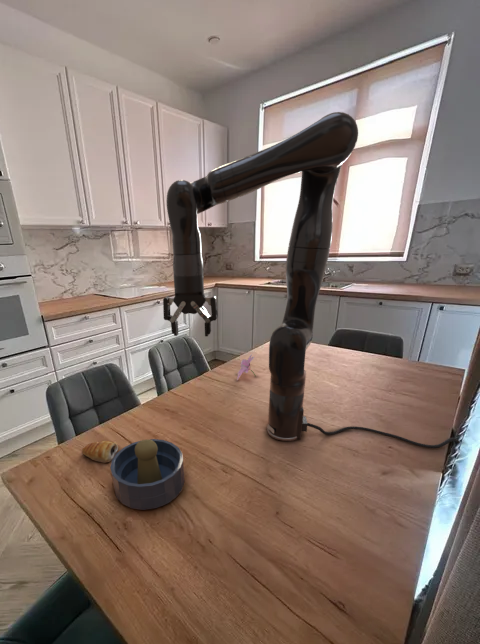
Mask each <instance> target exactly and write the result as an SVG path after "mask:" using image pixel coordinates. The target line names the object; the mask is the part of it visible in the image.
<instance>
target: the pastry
mask: <svg viewBox="0 0 480 644" xmlns="http://www.w3.org/2000/svg"><path fill="white" fill-rule="evenodd" d="M81 449H82V450H81V451H82V454H83V455H84V456H85V457H86V458H88V459H90V460H92V461H95V462H100V463H110V462H112V459H113V458H114V456H115V455H116V454H117V453H118V452H119V446H118V444H117V442H115V441H108V440H102V441H94V442H91V443H88V444H86V445H85V446H84V447H83V448H81Z"/></svg>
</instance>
